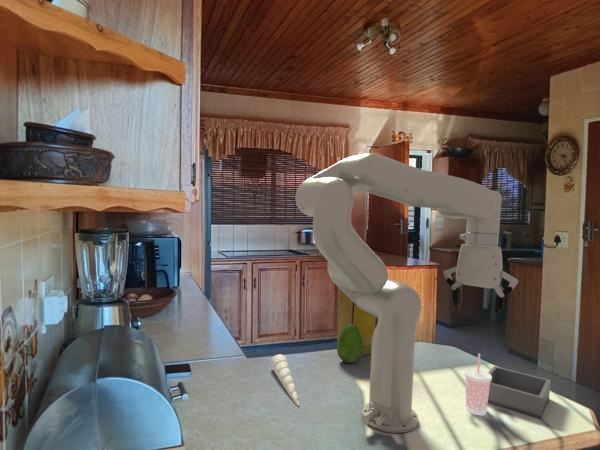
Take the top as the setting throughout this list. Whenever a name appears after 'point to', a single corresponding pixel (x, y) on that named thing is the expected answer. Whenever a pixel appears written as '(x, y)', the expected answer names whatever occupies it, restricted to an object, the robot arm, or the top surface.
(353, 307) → the food packaging
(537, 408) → the bin
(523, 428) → the top surface
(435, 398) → the top surface
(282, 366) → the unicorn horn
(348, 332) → the avocado
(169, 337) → the top surface
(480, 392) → the beverage cup
